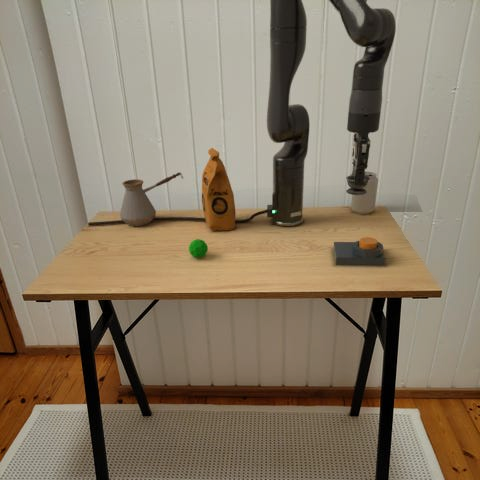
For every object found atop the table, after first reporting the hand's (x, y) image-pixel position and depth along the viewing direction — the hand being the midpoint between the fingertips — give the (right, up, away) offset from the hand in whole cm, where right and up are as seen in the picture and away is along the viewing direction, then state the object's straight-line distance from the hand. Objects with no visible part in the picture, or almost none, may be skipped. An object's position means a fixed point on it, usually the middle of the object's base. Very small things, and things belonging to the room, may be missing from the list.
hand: (357, 180), depth 117 cm
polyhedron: (-41, -19, +5) cm, 46 cm away
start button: (+2, -18, -2) cm, 18 cm away
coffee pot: (-58, -4, +30) cm, 66 cm away
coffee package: (-37, -6, +25) cm, 45 cm away
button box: (0, -20, +1) cm, 20 cm away
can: (+10, -1, +31) cm, 32 cm away
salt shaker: (0, -3, +2) cm, 3 cm away
